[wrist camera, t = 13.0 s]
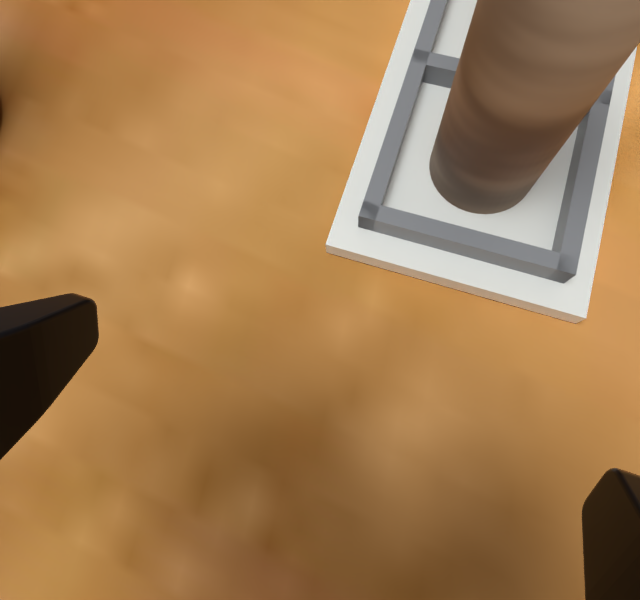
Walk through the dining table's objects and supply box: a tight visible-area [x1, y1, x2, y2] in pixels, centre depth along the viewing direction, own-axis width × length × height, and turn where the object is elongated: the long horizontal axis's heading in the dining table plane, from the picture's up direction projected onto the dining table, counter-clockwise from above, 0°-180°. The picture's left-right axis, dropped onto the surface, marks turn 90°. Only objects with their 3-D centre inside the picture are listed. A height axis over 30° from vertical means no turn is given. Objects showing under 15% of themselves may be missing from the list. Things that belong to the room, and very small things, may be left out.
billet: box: [429, 0, 640, 214], centre depth 16 cm, size 5×5×14 cm
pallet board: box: [326, 0, 637, 324], centre depth 24 cm, size 21×12×2 cm, turn 162°
